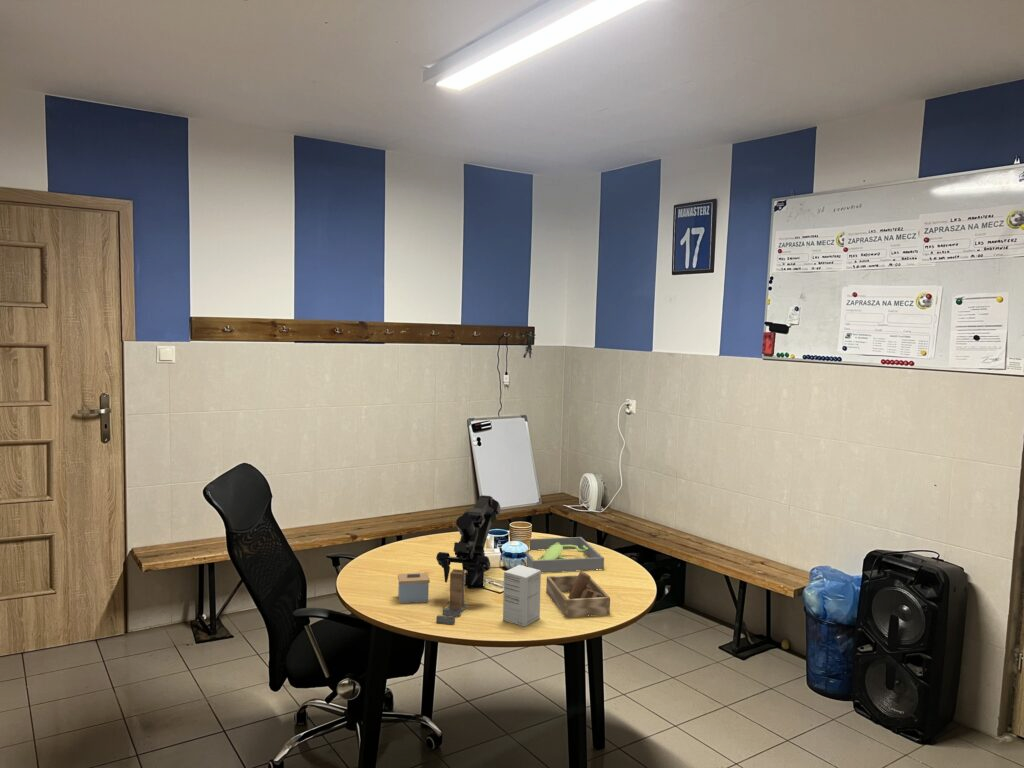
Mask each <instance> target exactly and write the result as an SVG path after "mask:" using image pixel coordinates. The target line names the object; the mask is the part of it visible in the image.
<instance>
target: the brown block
mask: <svg viewBox="0 0 1024 768" xmlns="http://www.w3.org/2000/svg"><path fill="white" fill-rule="evenodd" d="M465 573H466V570H463V569H456V568H455V569H454V568H453V569H452V570H451V571H450V572H449V604H450V608H451V609H460V610H461V609H462V607H463V606H464V604H465V583H464V579H465Z"/></svg>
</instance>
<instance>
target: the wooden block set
mask: <svg viewBox="0 0 1024 768" xmlns="http://www.w3.org/2000/svg"><path fill="white" fill-rule="evenodd" d="M577 575H578V577H577V579H576V581H575V583H574V586H573V588H572V590H571V592H569V595H568V596H567V597H568V598H567V599H580V598H598V597H604V596H603V595H602V594H601V593H598V592H596V591H595V592H594V591H592V590H590V588H588V587H586V586H587V584H588V582H589V579H590V577H591V575H589V574H587V573H586V572H585V571H579V573H578V574H577Z"/></svg>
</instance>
